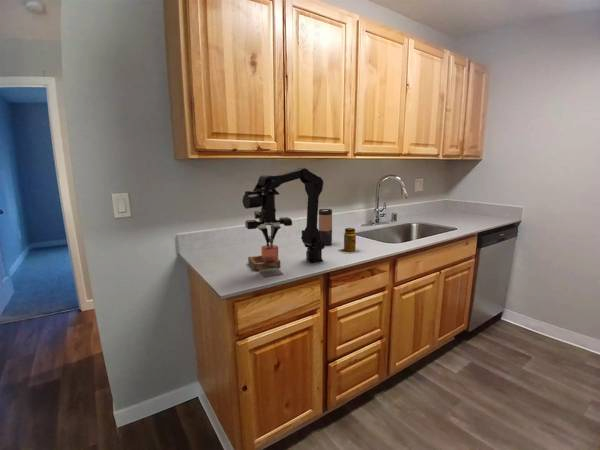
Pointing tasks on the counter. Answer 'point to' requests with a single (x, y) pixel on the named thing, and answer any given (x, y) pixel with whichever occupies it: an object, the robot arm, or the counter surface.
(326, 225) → the travel mug
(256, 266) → the holder
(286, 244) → the counter surface
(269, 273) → the mat
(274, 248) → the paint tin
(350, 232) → the condiment
